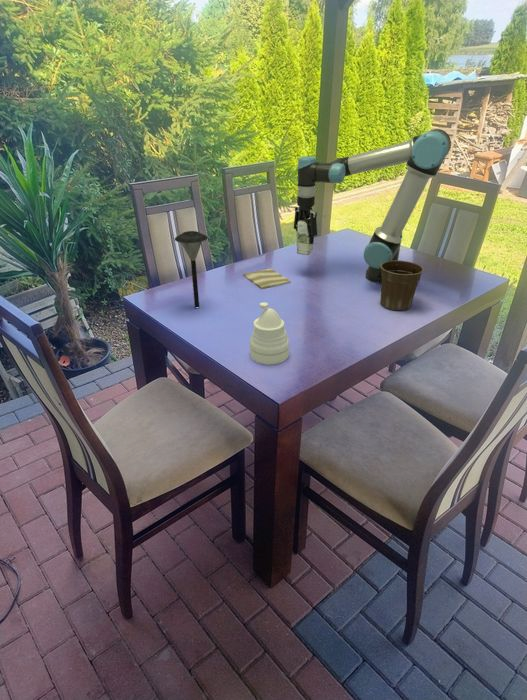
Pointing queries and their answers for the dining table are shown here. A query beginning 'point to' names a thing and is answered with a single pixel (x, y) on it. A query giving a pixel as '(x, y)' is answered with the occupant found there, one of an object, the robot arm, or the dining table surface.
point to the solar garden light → (192, 254)
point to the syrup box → (302, 238)
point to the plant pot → (399, 284)
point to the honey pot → (269, 338)
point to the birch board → (266, 278)
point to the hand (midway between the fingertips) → (304, 248)
